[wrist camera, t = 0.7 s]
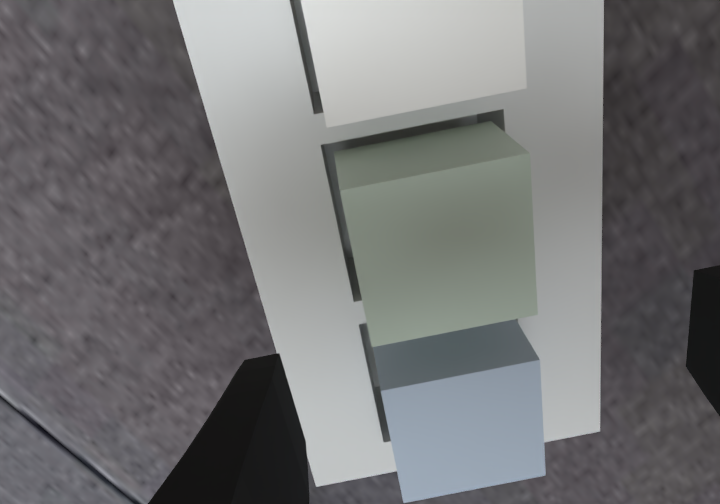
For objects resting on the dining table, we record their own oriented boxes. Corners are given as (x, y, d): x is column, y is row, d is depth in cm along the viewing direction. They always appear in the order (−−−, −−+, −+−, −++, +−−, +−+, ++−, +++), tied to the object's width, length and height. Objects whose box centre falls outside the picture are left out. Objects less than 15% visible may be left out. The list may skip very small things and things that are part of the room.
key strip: (539, -538, 12) (610, -691, 9) (563, 374, 23) (600, 431, 20) (74, -445, 12) (5, -569, 10) (315, 422, 23) (316, 486, 20)
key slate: (504, 300, 18) (540, 359, 15) (512, 406, 20) (545, 475, 17) (369, 327, 18) (380, 390, 15) (390, 430, 20) (403, 503, 17)
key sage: (490, 120, 15) (530, 153, 13) (501, 260, 17) (537, 314, 15) (333, 151, 15) (339, 190, 13) (361, 288, 17) (371, 347, 15)
